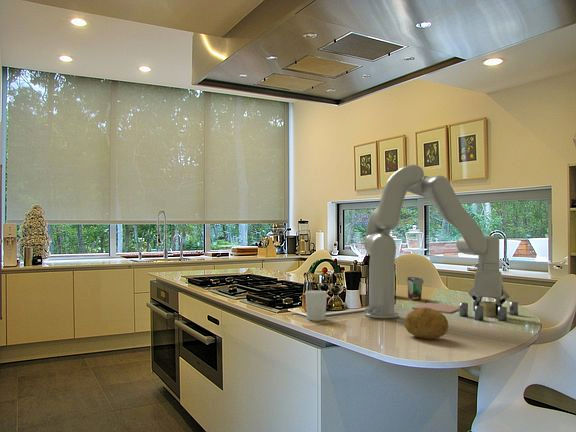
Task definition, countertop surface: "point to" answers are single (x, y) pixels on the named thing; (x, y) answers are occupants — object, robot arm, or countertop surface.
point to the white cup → (316, 305)
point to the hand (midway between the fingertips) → (488, 313)
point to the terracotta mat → (439, 307)
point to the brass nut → (489, 308)
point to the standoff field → (480, 311)
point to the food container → (414, 288)
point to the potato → (426, 323)
